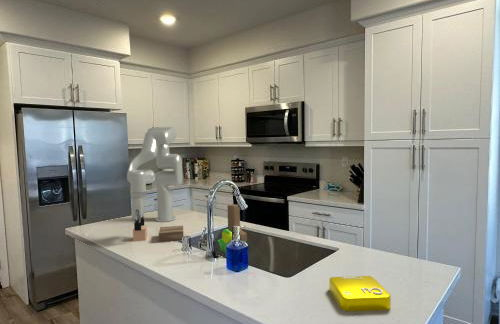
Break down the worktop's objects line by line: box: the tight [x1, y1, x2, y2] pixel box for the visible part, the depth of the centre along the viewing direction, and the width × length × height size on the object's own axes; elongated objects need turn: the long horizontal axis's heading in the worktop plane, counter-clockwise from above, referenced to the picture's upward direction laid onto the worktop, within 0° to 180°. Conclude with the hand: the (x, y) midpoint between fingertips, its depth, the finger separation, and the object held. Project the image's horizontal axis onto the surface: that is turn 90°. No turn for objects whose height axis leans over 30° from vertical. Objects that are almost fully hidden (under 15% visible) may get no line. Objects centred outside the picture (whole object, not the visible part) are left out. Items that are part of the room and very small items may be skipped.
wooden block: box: [227, 203, 248, 243], centre depth 159 cm, size 9×4×18 cm, turn 50°
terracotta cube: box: [132, 225, 148, 242], centre depth 166 cm, size 6×6×6 cm
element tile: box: [328, 275, 392, 312], centre depth 100 cm, size 15×15×5 cm
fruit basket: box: [217, 228, 246, 254], centre depth 143 cm, size 11×9×11 cm
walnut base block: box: [158, 225, 184, 243], centre depth 166 cm, size 12×12×5 cm
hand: (139, 228), depth 165 cm, fingers open, 9 cm apart
